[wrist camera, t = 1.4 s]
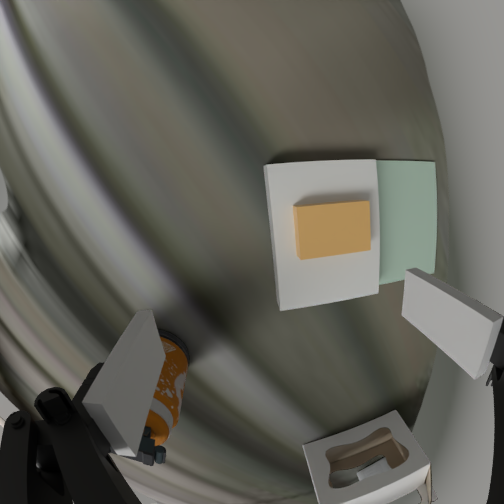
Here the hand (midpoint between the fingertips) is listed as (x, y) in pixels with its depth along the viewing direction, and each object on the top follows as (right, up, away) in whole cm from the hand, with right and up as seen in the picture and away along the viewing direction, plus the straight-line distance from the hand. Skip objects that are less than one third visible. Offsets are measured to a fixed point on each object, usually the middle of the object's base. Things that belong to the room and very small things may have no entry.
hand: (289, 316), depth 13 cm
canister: (-17, -12, +26) cm, 33 cm away
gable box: (+21, -40, +36) cm, 58 cm away
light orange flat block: (+8, +6, +20) cm, 22 cm away
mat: (+21, +8, +24) cm, 33 cm away
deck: (+8, +6, +23) cm, 25 cm away
